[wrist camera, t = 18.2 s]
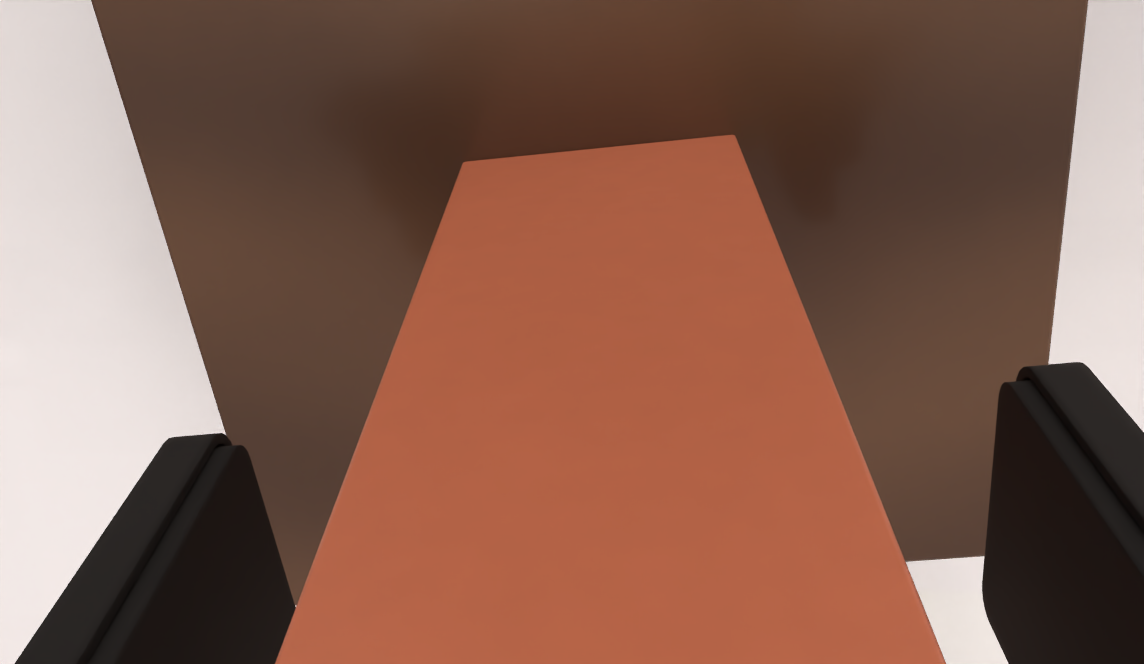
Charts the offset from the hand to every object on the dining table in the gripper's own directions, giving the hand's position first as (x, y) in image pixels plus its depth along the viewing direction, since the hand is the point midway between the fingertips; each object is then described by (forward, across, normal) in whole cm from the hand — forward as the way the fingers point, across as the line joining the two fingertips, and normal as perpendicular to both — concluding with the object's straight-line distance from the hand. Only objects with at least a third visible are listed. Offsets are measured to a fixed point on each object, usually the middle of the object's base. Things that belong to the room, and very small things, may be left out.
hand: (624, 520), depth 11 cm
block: (+6, 0, 0) cm, 6 cm away
